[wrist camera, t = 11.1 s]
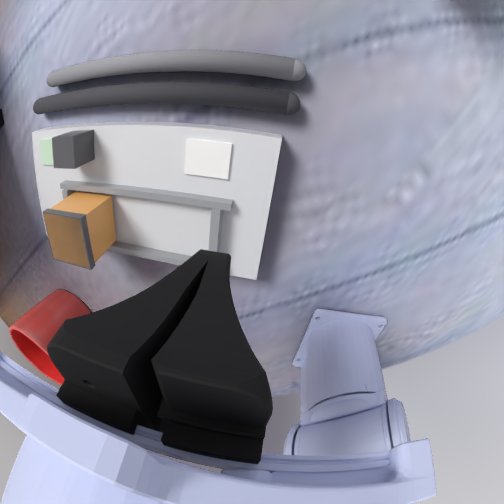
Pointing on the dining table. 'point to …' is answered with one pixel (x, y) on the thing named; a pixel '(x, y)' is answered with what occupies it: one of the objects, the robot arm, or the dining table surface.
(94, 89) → the cord
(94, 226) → the lever
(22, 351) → the flower pot
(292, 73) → the cord
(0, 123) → the uninterruptible power supply
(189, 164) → the white base panel
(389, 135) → the dining table surface
